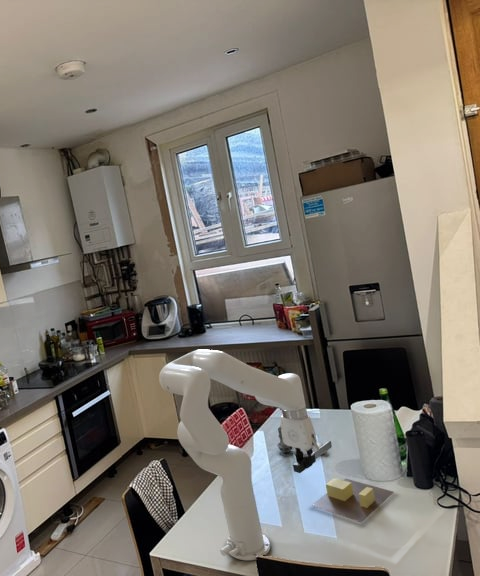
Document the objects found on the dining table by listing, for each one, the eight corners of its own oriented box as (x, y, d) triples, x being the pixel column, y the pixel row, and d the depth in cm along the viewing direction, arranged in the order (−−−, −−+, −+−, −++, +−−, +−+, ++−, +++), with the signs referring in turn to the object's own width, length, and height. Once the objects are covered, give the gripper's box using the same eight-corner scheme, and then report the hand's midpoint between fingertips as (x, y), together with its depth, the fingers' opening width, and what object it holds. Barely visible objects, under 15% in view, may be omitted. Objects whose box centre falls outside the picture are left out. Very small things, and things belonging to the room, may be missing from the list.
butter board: (361, 526, 149) (361, 522, 149) (312, 509, 162) (311, 505, 162) (394, 495, 160) (394, 491, 160) (345, 481, 173) (345, 478, 173)
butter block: (345, 501, 160) (343, 489, 160) (327, 495, 165) (325, 484, 165) (353, 494, 163) (351, 482, 163) (336, 489, 168) (333, 477, 168)
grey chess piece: (295, 455, 198) (289, 426, 197) (280, 457, 199) (274, 428, 198) (292, 449, 204) (287, 420, 203) (277, 451, 205) (272, 422, 204)
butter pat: (367, 508, 155) (364, 495, 154) (360, 506, 156) (358, 494, 156) (375, 500, 157) (373, 488, 157) (368, 498, 159) (366, 486, 159)
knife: (300, 473, 162) (298, 465, 162) (294, 471, 164) (292, 464, 164) (334, 447, 173) (333, 440, 173) (328, 446, 175) (327, 439, 175)
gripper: (266, 412, 169) (277, 464, 170) (309, 420, 155) (321, 477, 157) (280, 404, 173) (290, 455, 174) (323, 411, 159) (334, 466, 161)
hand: (305, 465), depth 166 cm, fingers closed on knife, 2 cm apart
